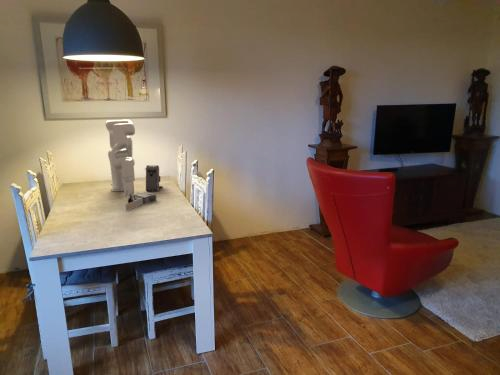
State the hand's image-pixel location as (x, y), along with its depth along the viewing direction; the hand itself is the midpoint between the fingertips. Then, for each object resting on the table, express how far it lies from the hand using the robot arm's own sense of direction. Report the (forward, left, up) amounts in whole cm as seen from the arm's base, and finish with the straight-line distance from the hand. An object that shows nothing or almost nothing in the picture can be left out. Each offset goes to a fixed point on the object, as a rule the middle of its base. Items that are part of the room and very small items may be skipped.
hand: (131, 205), depth 245 cm
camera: (-25, +40, -2) cm, 47 cm away
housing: (-5, +15, -1) cm, 16 cm away
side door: (+2, +1, -1) cm, 3 cm away
